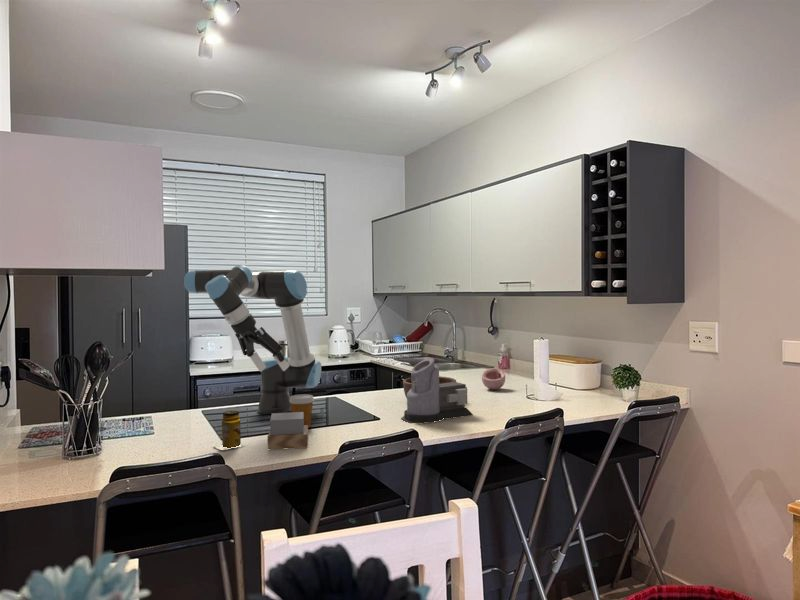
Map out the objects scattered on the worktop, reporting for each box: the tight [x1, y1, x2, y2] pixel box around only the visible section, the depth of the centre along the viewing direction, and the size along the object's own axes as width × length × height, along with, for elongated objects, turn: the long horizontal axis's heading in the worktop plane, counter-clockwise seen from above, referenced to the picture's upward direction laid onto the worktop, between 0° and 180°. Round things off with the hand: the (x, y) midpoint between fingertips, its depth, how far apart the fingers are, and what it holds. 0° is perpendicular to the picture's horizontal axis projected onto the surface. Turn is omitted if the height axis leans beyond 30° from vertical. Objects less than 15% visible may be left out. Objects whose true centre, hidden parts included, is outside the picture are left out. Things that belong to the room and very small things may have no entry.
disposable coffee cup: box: [289, 393, 315, 429], centre depth 213 cm, size 10×10×12 cm
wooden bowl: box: [402, 375, 457, 399], centre depth 258 cm, size 25×25×10 cm
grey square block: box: [269, 411, 304, 435], centre depth 191 cm, size 11×11×5 cm
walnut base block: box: [267, 425, 309, 450], centre depth 191 cm, size 13×13×5 cm
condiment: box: [221, 410, 242, 448], centre depth 188 cm, size 7×8×12 cm
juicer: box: [400, 357, 474, 424], centre depth 227 cm, size 30×16×24 cm, turn 119°
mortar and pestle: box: [481, 367, 506, 391], centre depth 286 cm, size 12×12×12 cm
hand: (274, 369), depth 188 cm, fingers open, 13 cm apart
